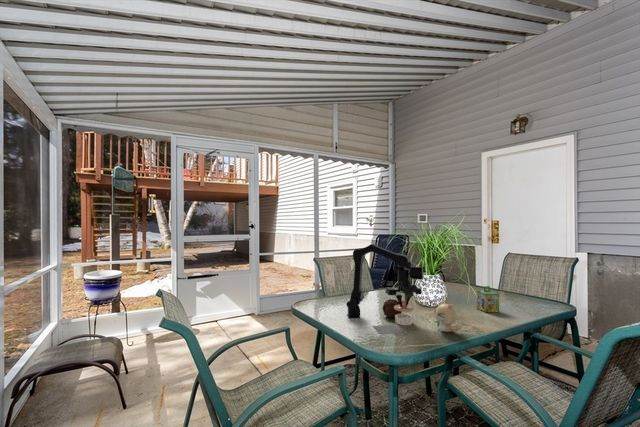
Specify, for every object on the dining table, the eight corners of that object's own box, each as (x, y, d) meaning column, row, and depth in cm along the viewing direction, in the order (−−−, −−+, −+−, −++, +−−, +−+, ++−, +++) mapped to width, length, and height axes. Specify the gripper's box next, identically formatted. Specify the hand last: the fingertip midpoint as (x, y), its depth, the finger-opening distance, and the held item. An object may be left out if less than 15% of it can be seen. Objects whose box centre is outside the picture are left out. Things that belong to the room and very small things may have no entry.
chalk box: (486, 313, 187) (486, 288, 188) (476, 309, 196) (476, 285, 197) (500, 312, 189) (499, 287, 189) (489, 308, 198) (488, 284, 198)
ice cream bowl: (402, 316, 185) (402, 321, 171) (383, 315, 188) (381, 319, 174) (402, 298, 187) (402, 301, 172) (383, 297, 190) (381, 299, 175)
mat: (379, 335, 152) (379, 334, 152) (372, 327, 164) (372, 326, 164) (403, 334, 154) (403, 332, 154) (393, 325, 166) (393, 324, 166)
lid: (398, 312, 164) (398, 303, 164) (390, 306, 174) (390, 298, 174) (417, 311, 166) (417, 302, 166) (408, 305, 176) (408, 297, 176)
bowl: (399, 326, 165) (399, 319, 165) (392, 321, 173) (392, 313, 174) (415, 325, 166) (415, 318, 166) (408, 320, 175) (408, 313, 175)
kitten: (429, 326, 165) (429, 297, 166) (447, 325, 166) (447, 297, 166) (442, 336, 150) (442, 305, 151) (462, 336, 151) (462, 305, 151)
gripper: (392, 281, 161) (392, 312, 161) (426, 280, 164) (426, 310, 163) (385, 277, 172) (385, 306, 172) (416, 276, 175) (417, 304, 174)
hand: (403, 306), depth 170 cm, fingers closed on lid, 3 cm apart
